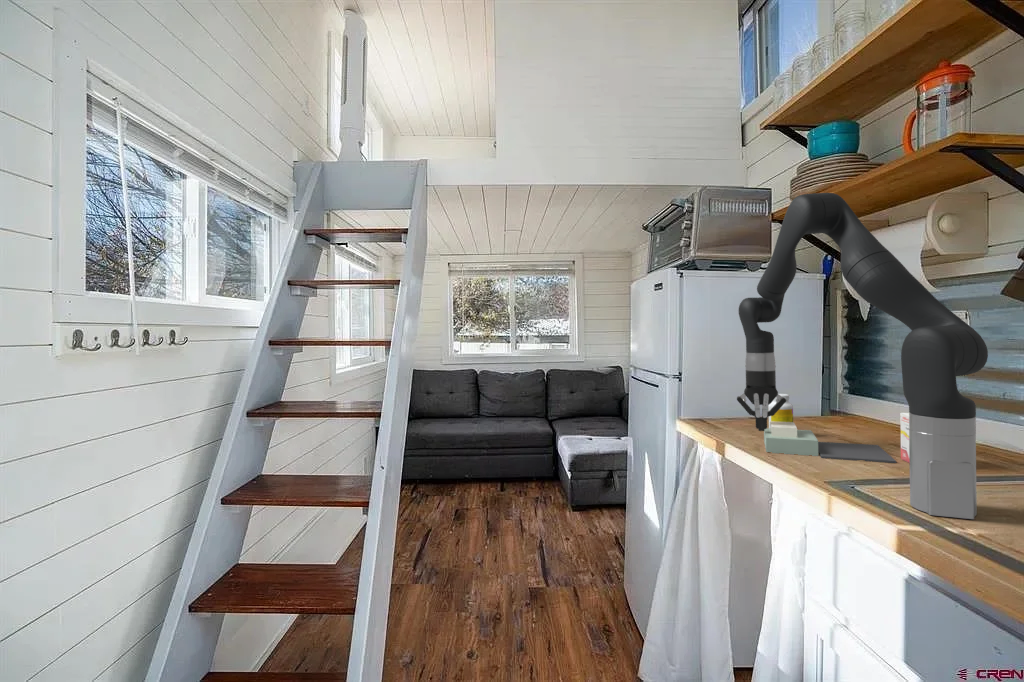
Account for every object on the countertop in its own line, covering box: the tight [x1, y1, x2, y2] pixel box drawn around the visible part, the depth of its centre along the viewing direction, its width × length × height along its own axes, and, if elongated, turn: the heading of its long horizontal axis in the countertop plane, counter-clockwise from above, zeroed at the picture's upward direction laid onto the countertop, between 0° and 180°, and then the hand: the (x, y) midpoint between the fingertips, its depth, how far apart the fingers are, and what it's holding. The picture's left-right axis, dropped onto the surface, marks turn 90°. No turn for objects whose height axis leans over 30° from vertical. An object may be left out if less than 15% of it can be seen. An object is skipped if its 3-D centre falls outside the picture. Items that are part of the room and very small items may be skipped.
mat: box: [818, 441, 897, 464], centre depth 134 cm, size 18×16×1 cm
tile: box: [770, 421, 798, 438], centre depth 140 cm, size 9×6×2 cm, turn 156°
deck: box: [763, 427, 819, 457], centre depth 140 cm, size 14×12×4 cm
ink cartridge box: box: [899, 412, 910, 464], centre depth 121 cm, size 9×5×15 cm, turn 168°
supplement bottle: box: [768, 393, 794, 428], centre depth 155 cm, size 7×7×13 cm
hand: (761, 430), depth 142 cm, fingers closed
